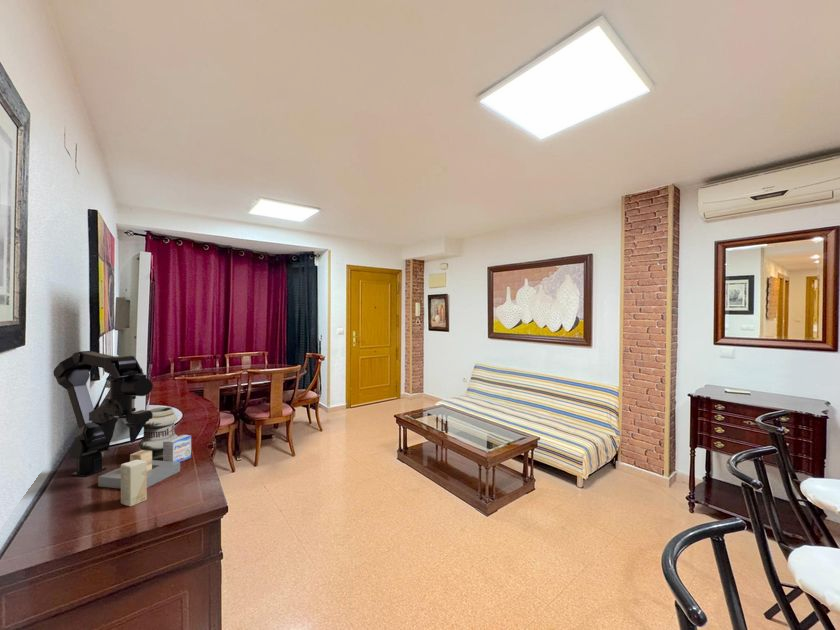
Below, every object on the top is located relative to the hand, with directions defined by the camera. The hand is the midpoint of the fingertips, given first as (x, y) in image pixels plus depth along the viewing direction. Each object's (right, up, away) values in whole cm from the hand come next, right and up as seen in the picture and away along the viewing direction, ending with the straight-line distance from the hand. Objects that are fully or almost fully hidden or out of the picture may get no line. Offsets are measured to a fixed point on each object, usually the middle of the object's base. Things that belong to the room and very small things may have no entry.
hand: (120, 441), depth 116 cm
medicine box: (+9, -13, +13) cm, 21 cm away
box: (+17, -12, -15) cm, 26 cm away
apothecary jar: (-1, -13, +18) cm, 22 cm away
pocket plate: (+7, -12, 0) cm, 14 cm away
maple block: (+7, -12, 0) cm, 14 cm away
